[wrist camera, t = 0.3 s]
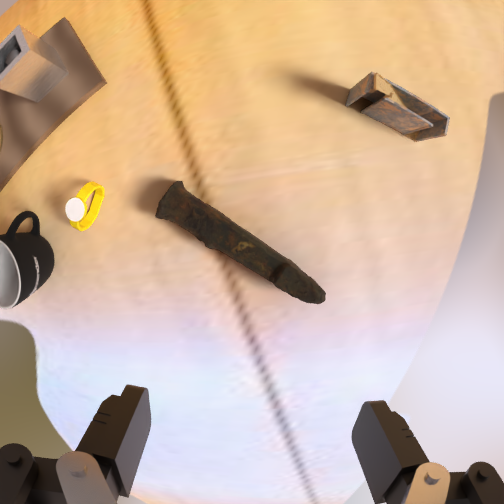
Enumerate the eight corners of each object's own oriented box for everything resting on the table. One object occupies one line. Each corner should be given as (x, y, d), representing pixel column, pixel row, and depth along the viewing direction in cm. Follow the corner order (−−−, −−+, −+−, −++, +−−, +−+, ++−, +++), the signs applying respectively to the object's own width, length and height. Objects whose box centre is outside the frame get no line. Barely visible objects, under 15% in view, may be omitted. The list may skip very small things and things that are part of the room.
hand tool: (159, 211, 37) (146, 215, 31) (180, 179, 36) (170, 178, 31) (304, 311, 40) (313, 329, 35) (326, 283, 40) (339, 297, 34)
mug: (55, 296, 38) (17, 322, 28) (14, 271, 37) (-27, 290, 27) (73, 219, 36) (30, 230, 26) (29, 197, 35) (-17, 202, 25)
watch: (96, 179, 35) (74, 178, 29) (113, 187, 36) (93, 187, 30) (81, 221, 36) (58, 227, 30) (97, 230, 37) (76, 237, 31)
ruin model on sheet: (343, 109, 35) (373, 88, 26) (349, 90, 35) (379, 65, 25) (413, 144, 37) (455, 137, 27) (418, 126, 36) (459, 114, 27)
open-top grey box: (26, 77, 30) (-14, 59, 20) (55, 49, 29) (19, 24, 20) (38, 102, 31) (-5, 87, 21) (68, 73, 31) (29, 49, 21)
